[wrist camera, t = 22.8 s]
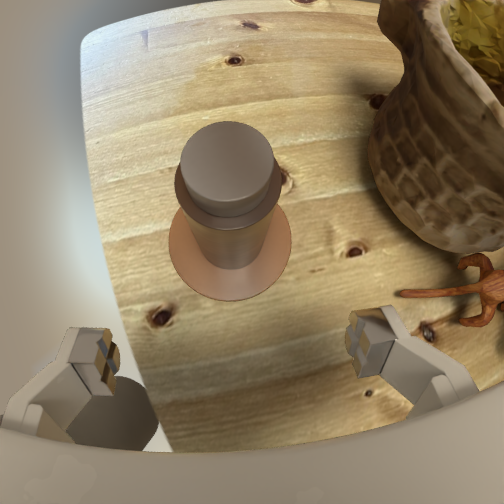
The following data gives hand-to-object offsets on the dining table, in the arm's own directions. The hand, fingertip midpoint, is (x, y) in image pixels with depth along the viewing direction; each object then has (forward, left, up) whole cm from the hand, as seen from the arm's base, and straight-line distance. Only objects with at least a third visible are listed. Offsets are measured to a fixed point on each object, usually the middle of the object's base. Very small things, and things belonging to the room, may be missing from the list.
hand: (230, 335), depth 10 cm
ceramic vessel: (+24, +5, -15) cm, 29 cm away
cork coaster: (+3, +6, -15) cm, 17 cm away
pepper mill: (+3, +6, -14) cm, 16 cm away
